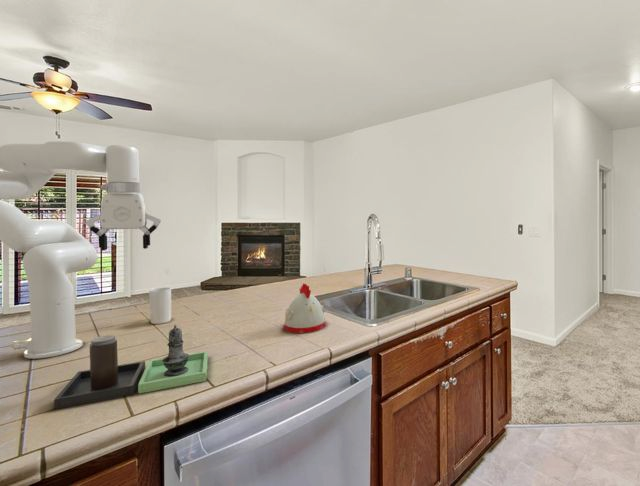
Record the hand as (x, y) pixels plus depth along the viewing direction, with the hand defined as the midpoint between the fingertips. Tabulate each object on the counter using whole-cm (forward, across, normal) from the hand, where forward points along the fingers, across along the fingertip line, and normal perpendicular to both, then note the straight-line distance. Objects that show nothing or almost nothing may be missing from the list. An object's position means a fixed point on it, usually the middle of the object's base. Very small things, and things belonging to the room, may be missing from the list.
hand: (125, 249), depth 105 cm
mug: (+31, +4, +32) cm, 44 cm away
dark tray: (+30, 0, -22) cm, 37 cm away
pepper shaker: (+30, 0, -22) cm, 37 cm away
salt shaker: (+30, +14, -22) cm, 40 cm away
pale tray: (+30, +14, -22) cm, 40 cm away
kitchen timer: (+31, +51, +1) cm, 59 cm away
